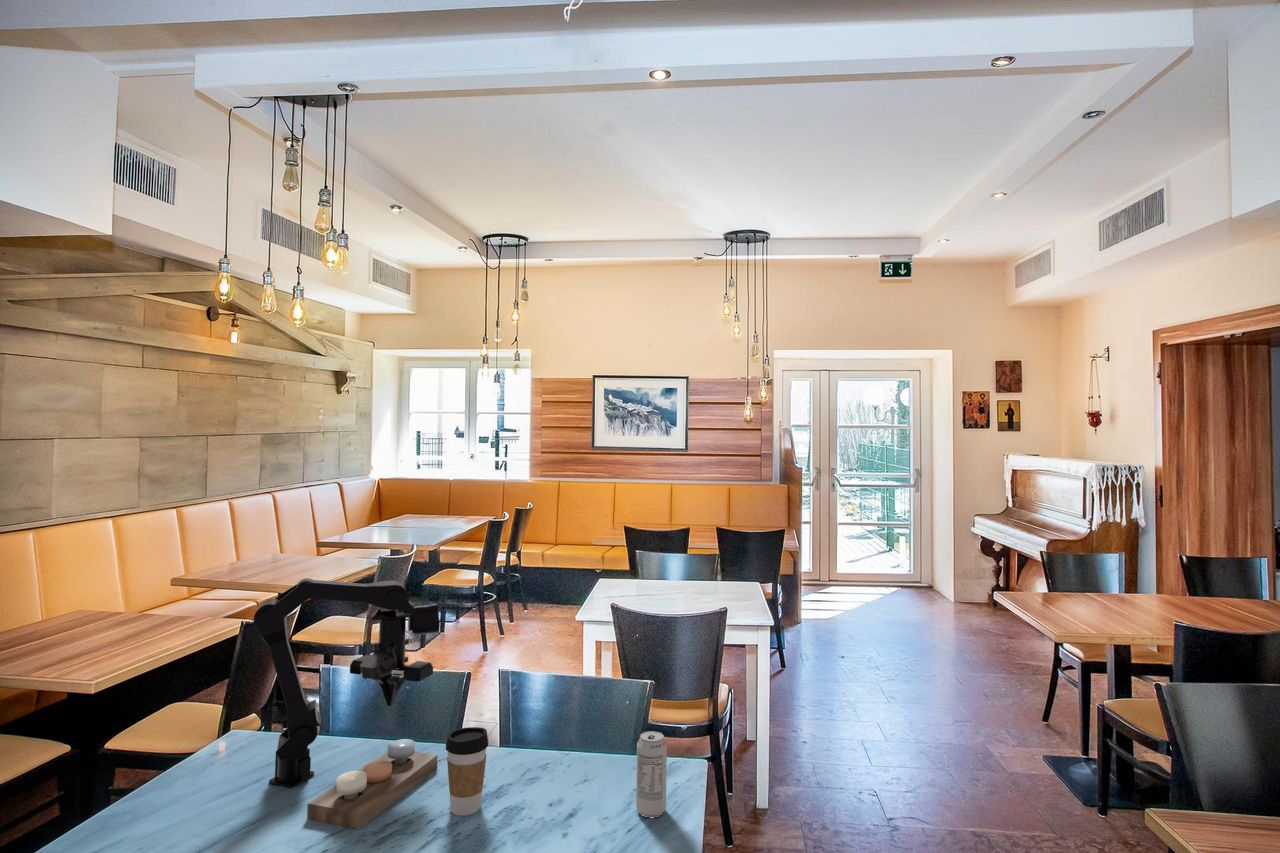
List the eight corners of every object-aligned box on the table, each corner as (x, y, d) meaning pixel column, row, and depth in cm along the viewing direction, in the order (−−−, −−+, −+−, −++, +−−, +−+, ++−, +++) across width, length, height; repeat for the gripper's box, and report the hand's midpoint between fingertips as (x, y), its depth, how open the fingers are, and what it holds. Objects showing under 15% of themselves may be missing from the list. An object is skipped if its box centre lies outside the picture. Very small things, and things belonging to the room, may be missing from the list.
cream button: (329, 807, 133) (330, 781, 133) (349, 793, 138) (349, 769, 138) (353, 812, 131) (354, 786, 131) (372, 798, 137) (373, 773, 137)
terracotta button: (356, 795, 140) (357, 770, 141) (374, 782, 146) (375, 758, 146) (379, 799, 139) (380, 774, 139) (396, 786, 144) (397, 762, 144)
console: (307, 819, 131) (307, 803, 132) (391, 761, 156) (391, 747, 157) (359, 829, 128) (359, 813, 128) (437, 768, 153) (437, 755, 153)
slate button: (381, 771, 148) (382, 747, 148) (397, 760, 153) (398, 737, 154) (403, 774, 147) (404, 751, 147) (419, 763, 152) (419, 740, 152)
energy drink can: (669, 807, 138) (670, 732, 138) (660, 822, 132) (661, 744, 133) (641, 801, 140) (642, 728, 140) (631, 816, 134) (632, 739, 135)
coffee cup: (476, 821, 131) (477, 743, 132) (436, 816, 133) (438, 738, 134) (493, 800, 140) (495, 726, 140) (456, 795, 141) (457, 722, 142)
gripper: (333, 642, 151) (331, 713, 151) (405, 650, 146) (403, 724, 146) (366, 630, 162) (364, 696, 162) (435, 637, 157) (433, 705, 156)
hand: (390, 705), depth 156 cm, fingers closed
